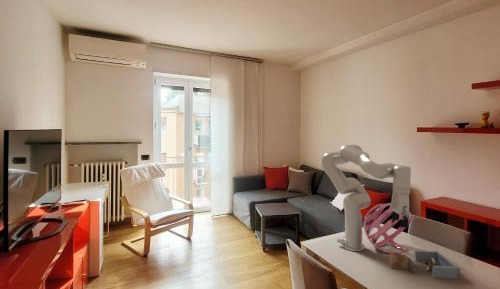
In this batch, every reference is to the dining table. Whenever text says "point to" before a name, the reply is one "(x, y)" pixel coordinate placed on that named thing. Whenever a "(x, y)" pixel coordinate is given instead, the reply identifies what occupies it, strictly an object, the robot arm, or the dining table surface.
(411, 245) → the dining table surface
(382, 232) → the spiral basket
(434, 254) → the box
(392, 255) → the brown grey block
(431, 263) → the eagle figurine
